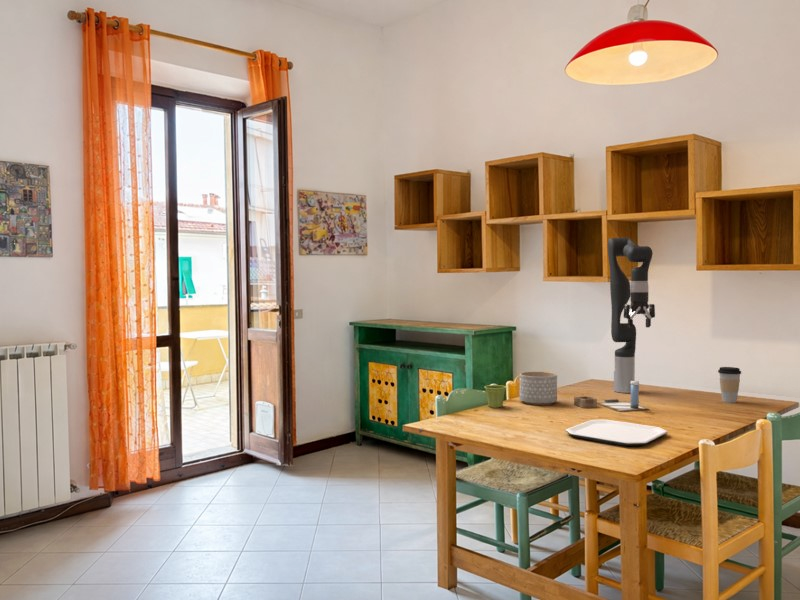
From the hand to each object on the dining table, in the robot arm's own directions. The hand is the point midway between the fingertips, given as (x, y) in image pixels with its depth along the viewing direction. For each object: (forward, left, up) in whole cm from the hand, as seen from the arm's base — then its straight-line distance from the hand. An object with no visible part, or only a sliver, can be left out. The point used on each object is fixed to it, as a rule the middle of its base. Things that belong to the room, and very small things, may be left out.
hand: (639, 327), depth 292 cm
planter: (-10, -44, -33) cm, 56 cm away
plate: (+53, -44, -34) cm, 77 cm away
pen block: (+3, -28, -33) cm, 43 cm away
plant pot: (-6, -66, -33) cm, 74 cm away
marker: (+15, -12, -32) cm, 38 cm away
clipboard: (+9, -14, -33) cm, 37 cm away
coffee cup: (+11, +38, -33) cm, 52 cm away
